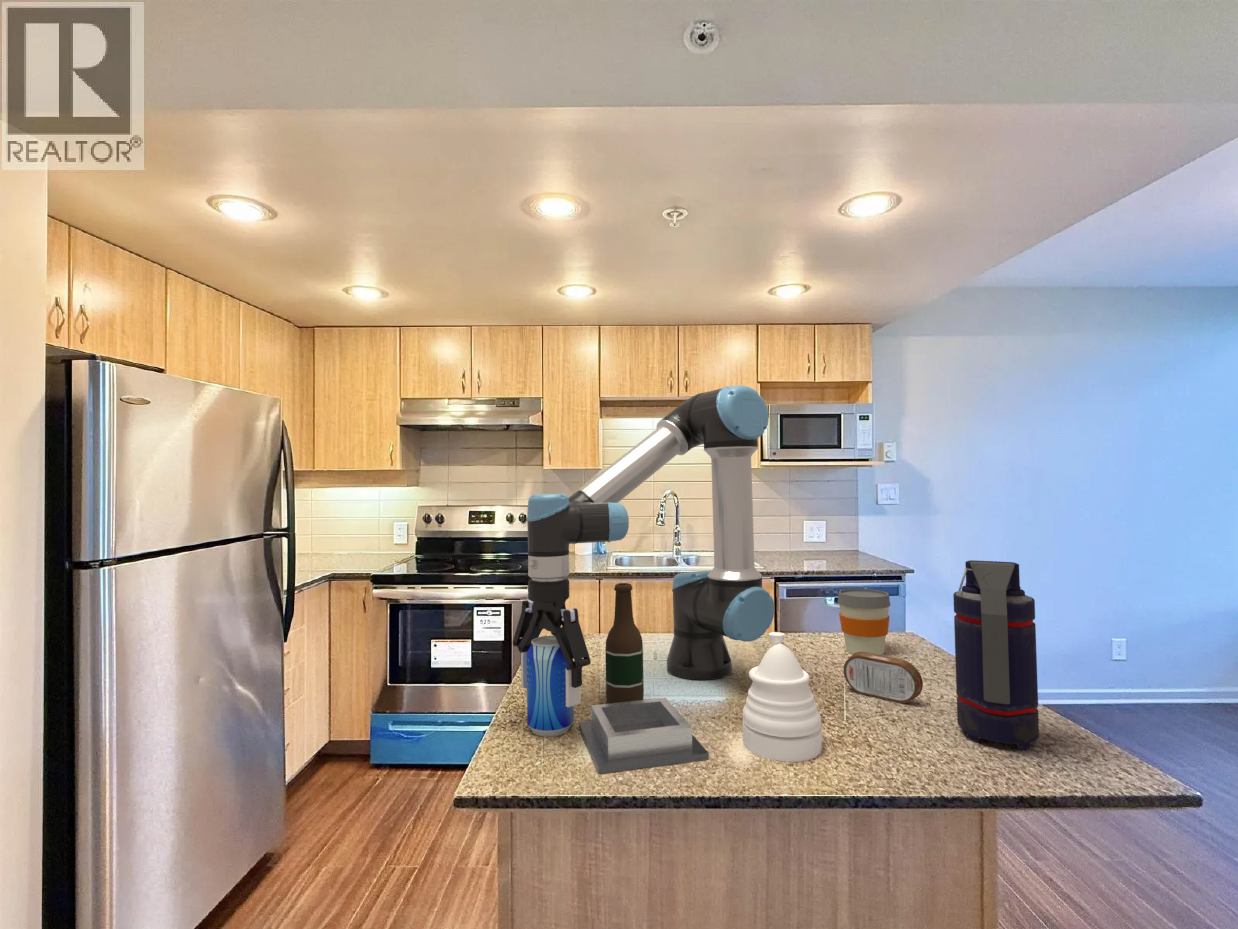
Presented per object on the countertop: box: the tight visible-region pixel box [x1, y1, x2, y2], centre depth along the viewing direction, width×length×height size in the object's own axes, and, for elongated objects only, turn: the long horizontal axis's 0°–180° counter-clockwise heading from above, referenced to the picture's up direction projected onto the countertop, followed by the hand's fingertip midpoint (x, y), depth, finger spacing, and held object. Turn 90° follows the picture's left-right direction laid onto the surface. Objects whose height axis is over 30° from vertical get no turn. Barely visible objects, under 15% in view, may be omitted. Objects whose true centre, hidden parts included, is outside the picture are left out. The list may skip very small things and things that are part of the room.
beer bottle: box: [604, 582, 645, 704], centre depth 121 cm, size 8×8×24 cm
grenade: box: [952, 559, 1040, 751], centre depth 103 cm, size 14×12×30 cm
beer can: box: [526, 635, 575, 738], centre depth 110 cm, size 8×8×16 cm
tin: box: [843, 652, 924, 704], centre depth 123 cm, size 15×3×8 cm, turn 47°
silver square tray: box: [578, 697, 710, 775], centre depth 103 cm, size 18×18×4 cm
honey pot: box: [742, 631, 823, 763], centre depth 102 cm, size 13×13×18 cm
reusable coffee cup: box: [837, 588, 891, 656], centre depth 155 cm, size 13×13×15 cm
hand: (549, 695), depth 110 cm, fingers open, 13 cm apart
